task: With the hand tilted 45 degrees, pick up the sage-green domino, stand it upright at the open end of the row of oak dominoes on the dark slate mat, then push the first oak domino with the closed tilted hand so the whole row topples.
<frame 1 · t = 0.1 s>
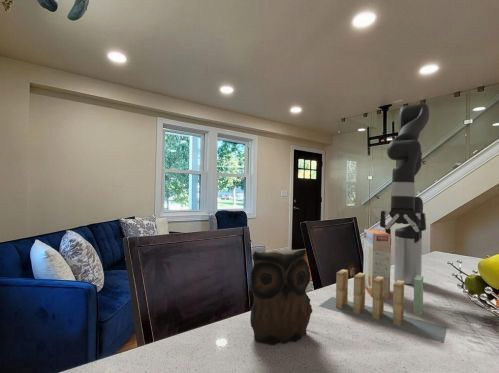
hand: (401, 241, 99), 17 cm above the kitchen island, tool pointing down, fingers open, 8 cm apart
domino 1: (341, 305, 82), resting on mat
owl: (278, 332, 66), on the kitchen island
mat: (377, 317, 76), on the kitchen island
domino 4: (398, 321, 73), resting on mat
domino 3: (377, 315, 76), resting on mat
cracker box: (375, 292, 96), on the kitchen island
domino 2: (359, 310, 79), resting on mat
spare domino: (418, 313, 79), on the kitchen island
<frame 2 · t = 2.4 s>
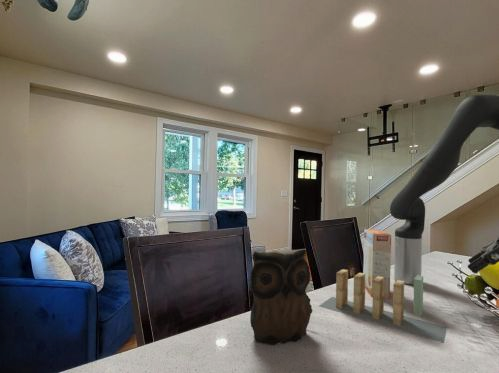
hand: (470, 266, 72), 15 cm above the kitchen island, tool tilted 45°, fingers open, 8 cm apart
nothing on the kitchen island moved.
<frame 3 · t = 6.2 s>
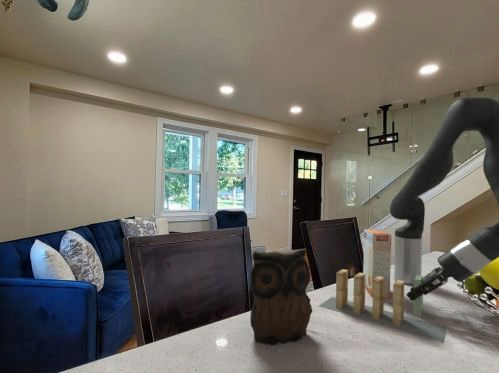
hand: (411, 294, 81), 5 cm above the kitchen island, tool tilted 45°, fingers closed on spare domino, 5 cm apart
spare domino: (418, 313, 79), on the kitchen island, touching gripper
everything else where it was.
when the fingers open (6 cm above the kitchen island, at t = 12.5 s): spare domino stays where it is, resting on mat.
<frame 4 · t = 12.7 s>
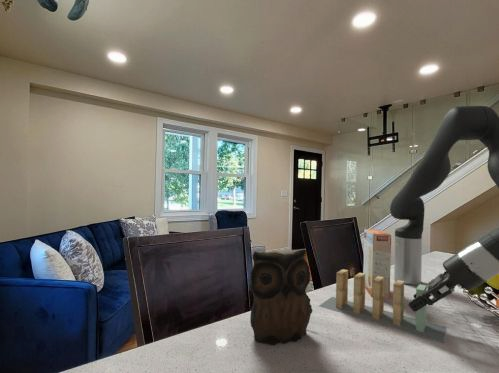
hand: (413, 303, 71), 6 cm above the kitchen island, tool tilted 45°, fingers open, 7 cm apart
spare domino: (421, 327, 70), resting on mat
everything else where it was.
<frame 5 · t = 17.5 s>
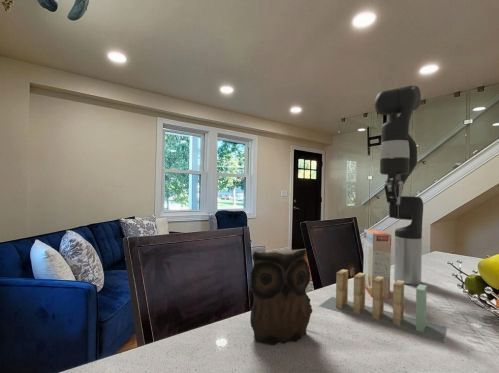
hand: (393, 217, 80), 27 cm above the kitchen island, tool pointing down, fingers closed
nothing on the kitchen island moved.
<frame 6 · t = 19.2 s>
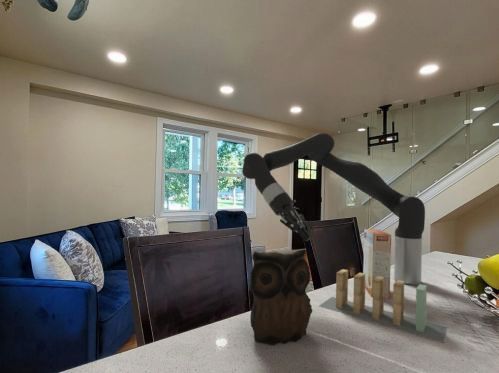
hand: (308, 239, 89), 19 cm above the kitchen island, tool tilted 45°, fingers closed
nothing on the kitchen island moved.
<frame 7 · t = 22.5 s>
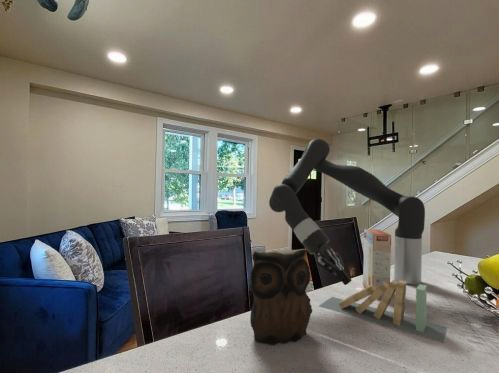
hand: (348, 282, 81), 7 cm above the kitchen island, tool tilted 45°, fingers closed
domino 1: (343, 303, 82), point 1 cm above the kitchen island, tilted 52°, touching mat
domino 3: (378, 314, 76), point 1 cm above the kitchen island, tilted 22°, touching mat
domino 2: (360, 308, 79), point 1 cm above the kitchen island, tilted 39°, touching mat
everything else where it was.
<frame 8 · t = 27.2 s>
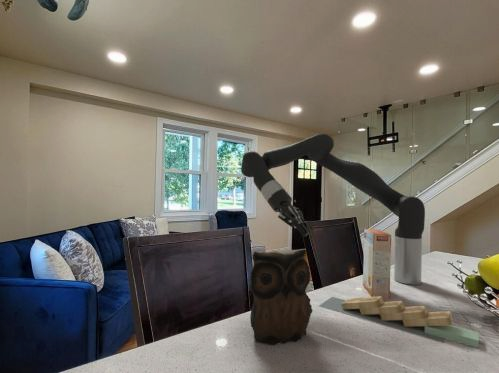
hand: (306, 234, 90), 20 cm above the kitchen island, tool tilted 45°, fingers closed
domino 1: (345, 303, 82), point 1 cm above the kitchen island, tilted 72°, touching domino 2, mat
domino 4: (405, 319, 72), point 1 cm above the kitchen island, tilted 71°, touching domino 3, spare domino
domino 3: (383, 314, 75), point 1 cm above the kitchen island, tilted 71°, touching domino 2, domino 4, mat
domino 2: (363, 308, 78), point 1 cm above the kitchen island, tilted 72°, touching domino 1, domino 3, mat
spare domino: (426, 325, 69), point 1 cm above the kitchen island, tilted 90°, touching domino 4, mat
everything else where it was.
at the end: domino 3 tilted 71°; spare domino tilted 90°; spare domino inside the target area (0.9 cm from its centre), point 1.2 cm above the kitchen island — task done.
